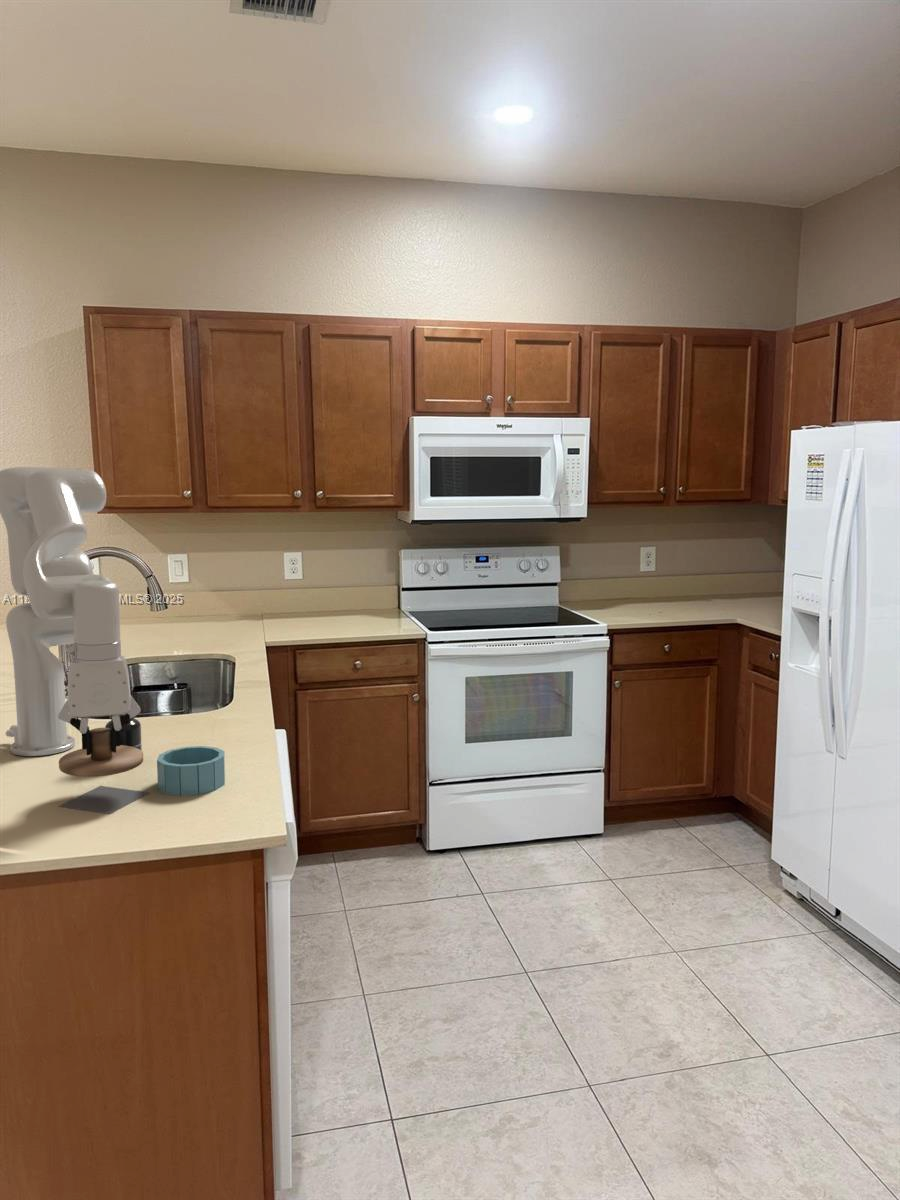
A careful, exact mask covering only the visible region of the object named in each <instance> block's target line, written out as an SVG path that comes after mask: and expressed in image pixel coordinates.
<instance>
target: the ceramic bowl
mask: <svg viewBox="0 0 900 1200" xmlns="http://www.w3.org/2000/svg"><path fill="white" fill-rule="evenodd" d="M225 753H226V752H225V750H223V749H220V748H218V747H215V746H206V745H194V746H192V745H190V746H183V747H178V748H171V749H170V750H169V749H168V750H166V751H164V752H162V753H160V754H158V756H157V759H156V765H157V766H156V767H157V769H156V770H157V771H156V773H157V790H159V791H160V792H162V793H163V794H165V795H170V796H179V797H180V796H182V797H183V796H198V795H203V794H207V793H210V792H215V791H217V790H218V789H221V788H222V787H224V786H225V784H226V762H225V761H226V759H225V758H226V757H225Z"/></svg>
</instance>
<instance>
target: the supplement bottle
mask: <svg viewBox="0 0 900 1200" xmlns="http://www.w3.org/2000/svg"><path fill="white" fill-rule="evenodd" d="M120 716H121V715H120ZM109 719H110V720H109V721H108V722H107V723H106V724H105V726H104V728H110V729H111V728H112V725H113V719H112V716H109ZM120 745H124V746H131V747H135V748H138V749H140V750H141V751H142V724H141V722H140V721H139V720H138V719H136V716H134V717H133V718H131V719H129V721H128V722H127V723H126V724H125V725H124V726H123V727H122V728H121V730H120ZM142 752H143V751H142Z"/></svg>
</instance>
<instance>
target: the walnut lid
mask: <svg viewBox="0 0 900 1200" xmlns="http://www.w3.org/2000/svg"><path fill="white" fill-rule="evenodd" d="M89 730H90V739H91V754H90V755H87V750H86V749H83V750H82V748H80V749H76V750H73V751H70V752H68V753H66V754H64V755H63V756H61V757H60V758H59V760H58V768H59V771H61V773H63V774H65V775H69V776H73V777H79V778H80V777H83V778H84V777H85V778H87V777H88V778H92V777H93V778H95V777H107V776H112V775H117V774H122V773H125V772H129V771H131V770H134V769H135V768H137V767H139V766H141V764H142V763H143V762H144V753H143V751H141V750H140V749H138V748H135V747H131V746H124V745H120V746H116V753H113V752H112V736H111V730H112V729H110V728H105V727H96V728H93V729H89Z"/></svg>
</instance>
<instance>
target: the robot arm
mask: <svg viewBox="0 0 900 1200" xmlns="http://www.w3.org/2000/svg"><path fill="white" fill-rule="evenodd" d="M106 503H107V489H106V485H105V482H104V480H103V478H102V477H101V476H100V475H99V474H98V473H97V472H96V471H94V470H91V469H84V468H77V467H75V468H74V467H43V466H41V467H40V466H39V467H38V466H18V467H17V466H16V467H7V468H4V469H1V470H0V516H1V518H2V520H3V523H4V525H5V529H6V532H7V533H6V534H7V545H8V558H9V559H8V561H9V570H10V580H11V585H12V588H13V591H14V592H15V593H17V594H18V595H21V596H25V597H27V598H28V601H29V602H27V603H23V604H19V605H16V606H14V607H12V608H11V609H10V610H9V611H8V613H7V615H6V618H5V619H6V620H5V623H6V624H5V625H6V631H7V634H8V635H7V636H8V639H9V643H10V649H11V654H12V662H13V663H12V664H13V675H14V676H13V677H14V690H15V693H14V694H15V704H16V705H15V706H16V708H15V709H16V725H15V724H13V725H11V726H10V727H9V729H8V730H6V732H5V736H6V737H11V738H14V742H13V743H12V744H11V745H10V748H9V750H10V753H11V754H13V755H16V756H23V757H40V756H41V757H42V756H48V755H49V756H50V755H54V754H59V753H61V752H65V751H68V750H70V749H72V748H74V746H75V745H76V739H75V738H74V737H73V736H71V735H67V734H68V733H67V732H68V731H67V724H70V725H71V726H72V727H74V729H76V730H77V731H79V733H80V734H81V749H82V750H83V749H86V750H87V755H90V754H91V739H90V730H91V729H90V726H88V725H89V720H90V719H91V718H103V717H104V718H105V717H110V716H112V719H113V725H112V728H111V729H112V730H111V736H112V752H113V753H116V746H120V730H121V728H122V727H123V726H124V725H125V724H126V723H127V722H128V721H129V719H131V718H133V717H134V716H135V717H136V716H137V715H139V714H140V713H141V712H142V711H141V707H140V705H139V704H138V703H137V702H136V700H135V699H134V697H133V696H132V695H131V686H130V673H129V668H128V662H127V660H126V659H127V658H126V657H125V656H123V655H122V649H121V646H122V645H121V617H120V615H121V614H120V613H121V612H120V589H119V586H118V584H117V583H115V582H113V581H111V579H110V578H109V577H107V576H105V575H104V574H103V575H102V574H94V571H93V565H92V563H91V560H90V558H89V556H88V555H87V554H86V553H85V552H84V551H81V550H79V547H81V546H82V545H83V544H84V543H85V541H86V539H87V538H88V529H87V526H86V523H85V521H84V518H83V513H85V514H86V513H98V512H101V511H102V510H103V509H104V508H105V506H106ZM64 645H65V647H64V648H65V654H66V655H68V654H69V655H72V656H73V657H74V658H72V659H71V660H70V663H69V667H68V677H67V699H66V695H65V694H66V693H65V690H66V689H65V674H64V673H65V672H64V670H65V669H64V667H63V664H62V661H61V660H60V658H58V656H56V655H55V654H54V653H53V652H52V651H51V650H50V648H51V647H57V646H64ZM66 645H67V646H66ZM120 715H121V716H120ZM135 717H134V718H135ZM89 718H90V719H89Z"/></svg>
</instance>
